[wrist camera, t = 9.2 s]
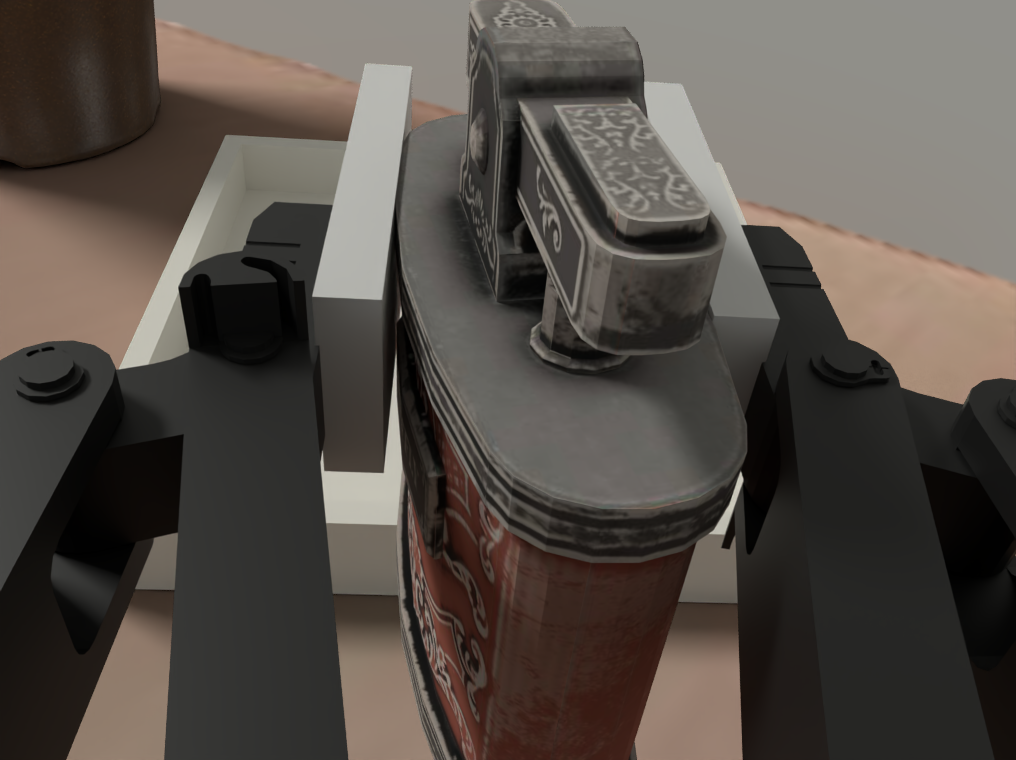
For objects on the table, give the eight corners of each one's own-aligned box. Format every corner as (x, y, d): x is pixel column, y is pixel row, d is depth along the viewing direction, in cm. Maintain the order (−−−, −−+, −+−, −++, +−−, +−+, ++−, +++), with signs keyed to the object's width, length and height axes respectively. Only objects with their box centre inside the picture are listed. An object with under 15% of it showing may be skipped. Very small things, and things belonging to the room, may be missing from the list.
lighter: (375, 469, 19) (362, -69, 12) (539, 453, 19) (610, -65, 13) (440, 892, 13) (481, 281, 6) (673, 847, 13) (928, 253, 7)
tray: (77, 587, 26) (51, 515, 24) (233, 195, 43) (225, 134, 41) (848, 605, 27) (882, 538, 26) (706, 220, 44) (720, 162, 42)
